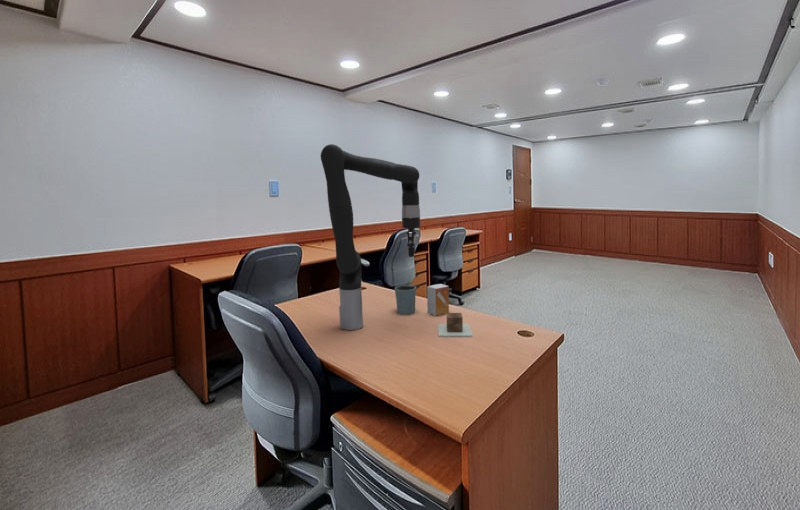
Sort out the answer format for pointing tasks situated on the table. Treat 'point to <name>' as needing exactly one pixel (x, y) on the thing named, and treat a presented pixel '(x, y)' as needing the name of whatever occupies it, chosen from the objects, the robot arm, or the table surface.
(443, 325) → the pad
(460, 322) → the cube
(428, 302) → the small box
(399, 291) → the grey cup
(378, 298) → the table surface
